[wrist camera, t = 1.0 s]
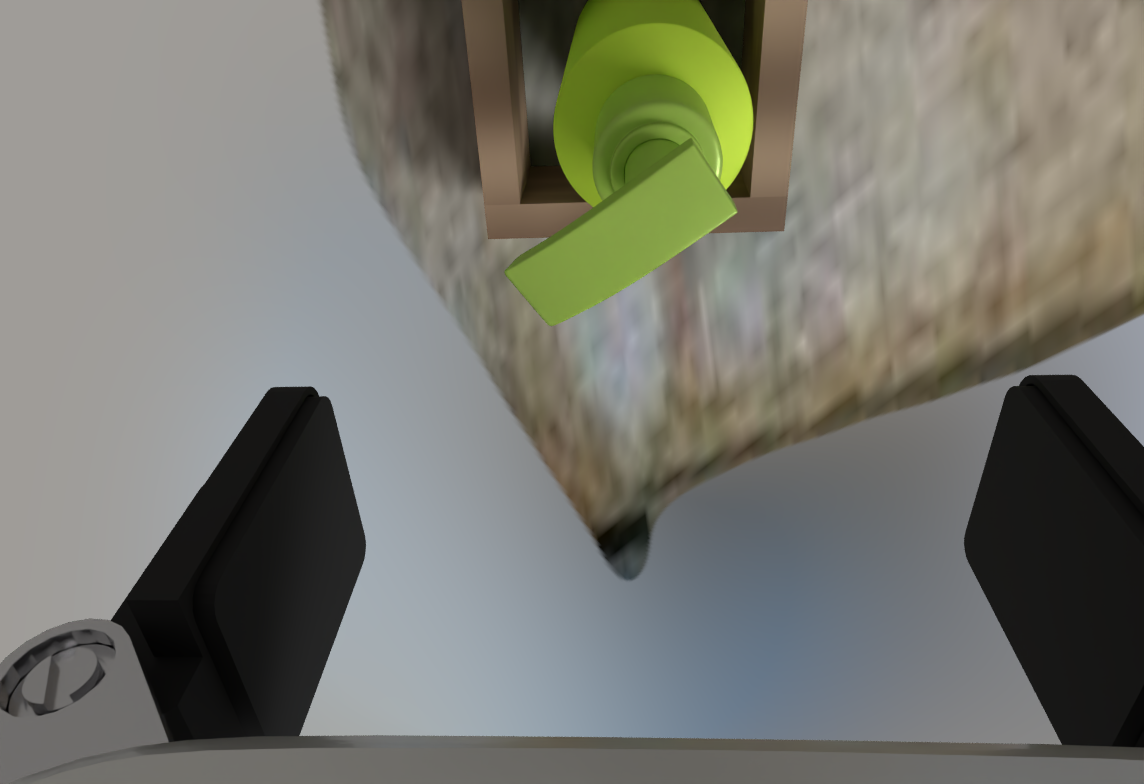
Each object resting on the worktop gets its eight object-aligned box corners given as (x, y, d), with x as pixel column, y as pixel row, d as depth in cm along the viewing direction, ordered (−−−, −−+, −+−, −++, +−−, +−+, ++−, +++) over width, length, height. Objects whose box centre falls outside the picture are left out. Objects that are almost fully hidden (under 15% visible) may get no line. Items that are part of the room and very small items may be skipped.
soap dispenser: (527, 46, 35) (443, 215, 18) (661, -63, 32) (707, 15, 15) (606, 155, 37) (596, 393, 20) (735, 62, 35) (846, 246, 18)
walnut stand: (472, -108, 32) (449, -104, 27) (792, -126, 31) (820, -124, 27) (502, 198, 38) (488, 238, 34) (765, 190, 38) (783, 231, 33)
